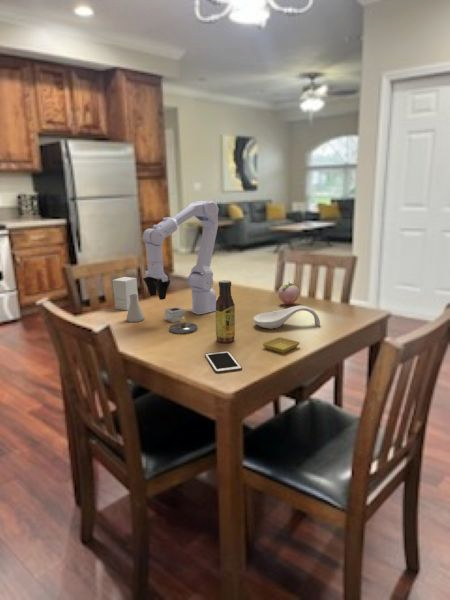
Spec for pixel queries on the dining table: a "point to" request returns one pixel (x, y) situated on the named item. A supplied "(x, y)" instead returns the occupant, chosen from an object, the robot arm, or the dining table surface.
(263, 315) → the spoon rest
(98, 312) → the dining table surface
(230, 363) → the cell phone
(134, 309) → the flask
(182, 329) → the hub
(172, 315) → the collar
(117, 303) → the supplement box
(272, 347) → the saucer
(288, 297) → the decorative fruit
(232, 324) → the sauce bottle
